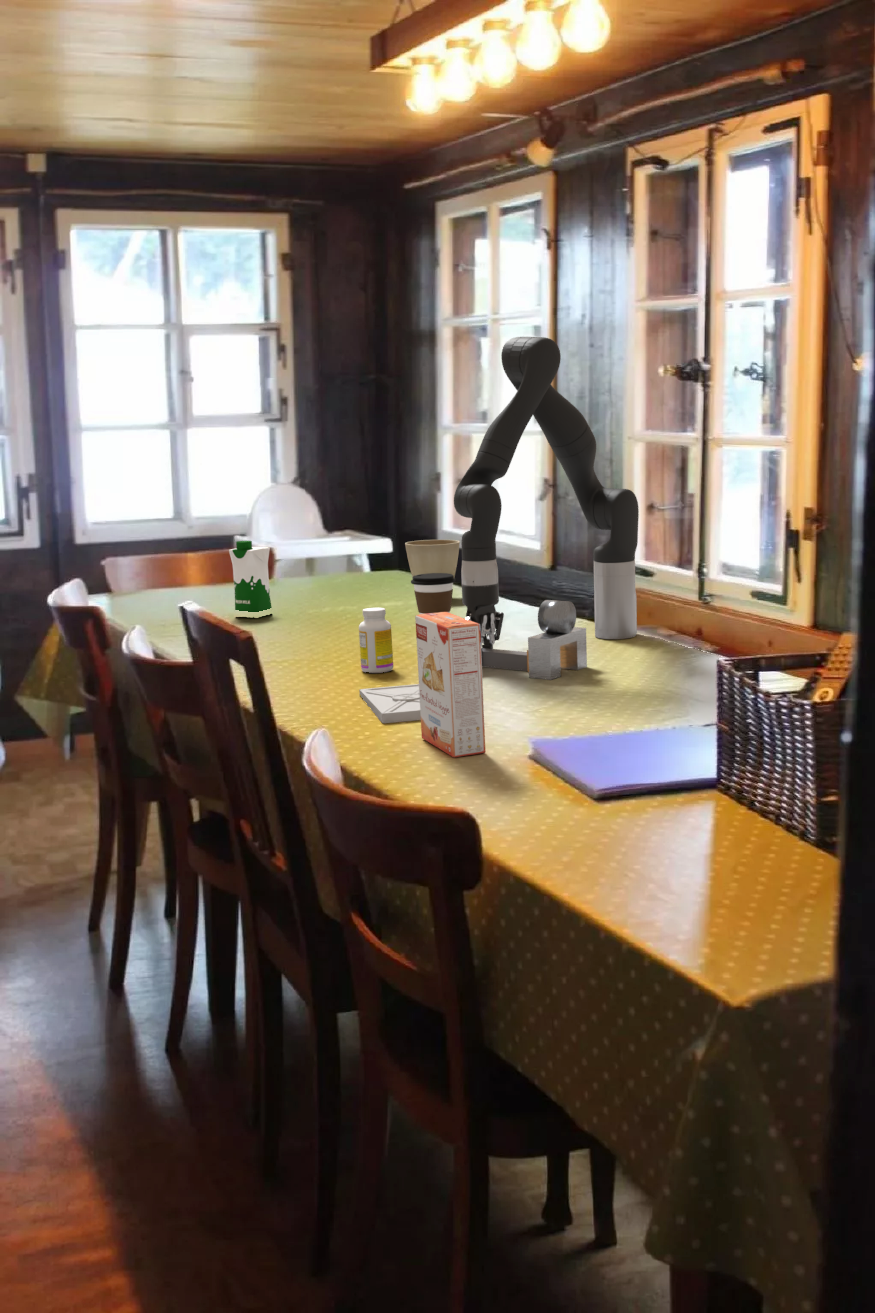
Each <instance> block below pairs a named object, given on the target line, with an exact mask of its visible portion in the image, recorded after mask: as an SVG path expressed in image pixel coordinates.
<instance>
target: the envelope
mask: <svg viewBox="0 0 875 1313" xmlns="http://www.w3.org/2000/svg"><path fill="white" fill-rule="evenodd" d="M358 690H359V696H360V695H361V697H362V698H363V699H362V698H361V697H360V698H361V699H362V701H365V702H366V703H367V704H366V703H365V702H364V703H365V704H366V705H367V707H368V708H369V707H370V708H371V709H370V708H369V709H370V710H371V711H372V713H373V714H374V713H375V714H374V715H375V716H376V718H378V720H379V721H380V722H381V723H382V724H392V723H400V722H403V723H404V722H413V721H421V714H420V695H419V683H416V684H415V683H414V684H403V685H395V686H394V685H393V686H380V687H370V688H360V689H358Z"/></svg>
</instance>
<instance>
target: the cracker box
mask: <svg viewBox="0 0 875 1313" xmlns="http://www.w3.org/2000/svg"><path fill="white" fill-rule="evenodd" d="M415 636H416V649H417V650H416V654H417V655H416V656H417V671H418V672H417V673H418V674H417V675H418V684H419V695H420V714H421V720H420V729H421V739H423V740H425V741H426V742H427V743H429V744H431V745H433V747H436V748H438V749H439V750H440V751H443V752H444V753H446V754H447V755H449V757H451V758H460V757H467V756H473V755H480V754H485V753H486V736H485V734H486V732H485V710H484V708H485V707H484V688H483V686H484V685H483V684H484V683H483V681H484V680H483V667H482V656H481V648H482V647H481V630H480V624H478V623H475V622H473V621H470V620H467V619H465V618H464V617H461V616H459V615H456V614H454V613H451V612H450V613H448V612H439V613H426V614H419V613H418V614H416V615H415Z"/></svg>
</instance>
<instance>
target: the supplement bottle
mask: <svg viewBox="0 0 875 1313" xmlns="http://www.w3.org/2000/svg"><path fill="white" fill-rule="evenodd" d="M386 612H387V610H386V608H384V607H368V608H363V609H362V616H363V621H361V622H360V624H359V625H358V638H359V653H360V654H359V655H360V656H359V657H360V668H361V671H362V672H364V673H366V672H369V673H368V674H383V672H384V673H388V672H390V671H392V670H393V669H394V657H393V656H394V655H393V653H394V652H393V640H392V638H393V635H392V625H391V622H389V620H387V619H386V617H385V616H386Z"/></svg>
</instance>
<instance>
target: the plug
mask: <svg viewBox="0 0 875 1313" xmlns="http://www.w3.org/2000/svg"><path fill="white" fill-rule="evenodd" d="M481 648H482V647H481ZM482 661H483V664H482V668H494V669H503V670H513V671H523V672H528V673H529V655H528V649H527V650H526V651H519V650H510V649H498V648H493V649H488V648H482Z"/></svg>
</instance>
